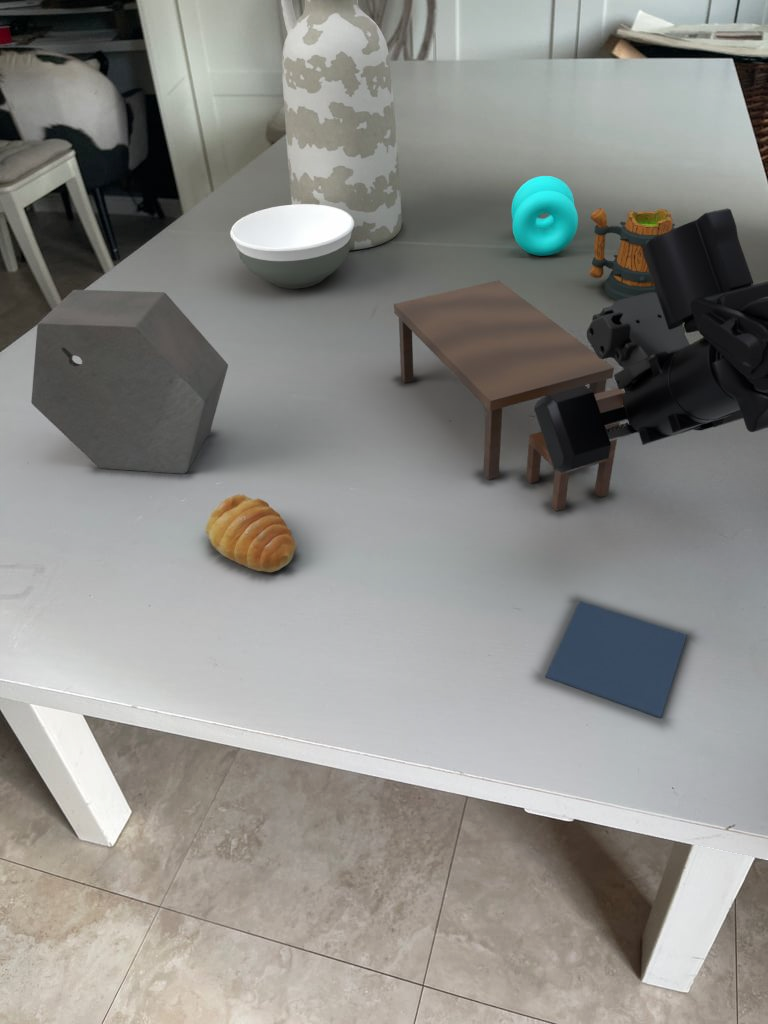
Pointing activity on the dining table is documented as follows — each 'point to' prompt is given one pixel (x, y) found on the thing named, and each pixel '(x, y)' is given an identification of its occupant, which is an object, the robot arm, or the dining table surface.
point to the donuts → (548, 231)
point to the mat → (618, 658)
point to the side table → (497, 351)
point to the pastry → (251, 534)
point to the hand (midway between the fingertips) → (598, 430)
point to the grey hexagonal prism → (127, 379)
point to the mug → (628, 251)
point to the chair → (538, 449)
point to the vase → (341, 117)
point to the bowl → (294, 243)
